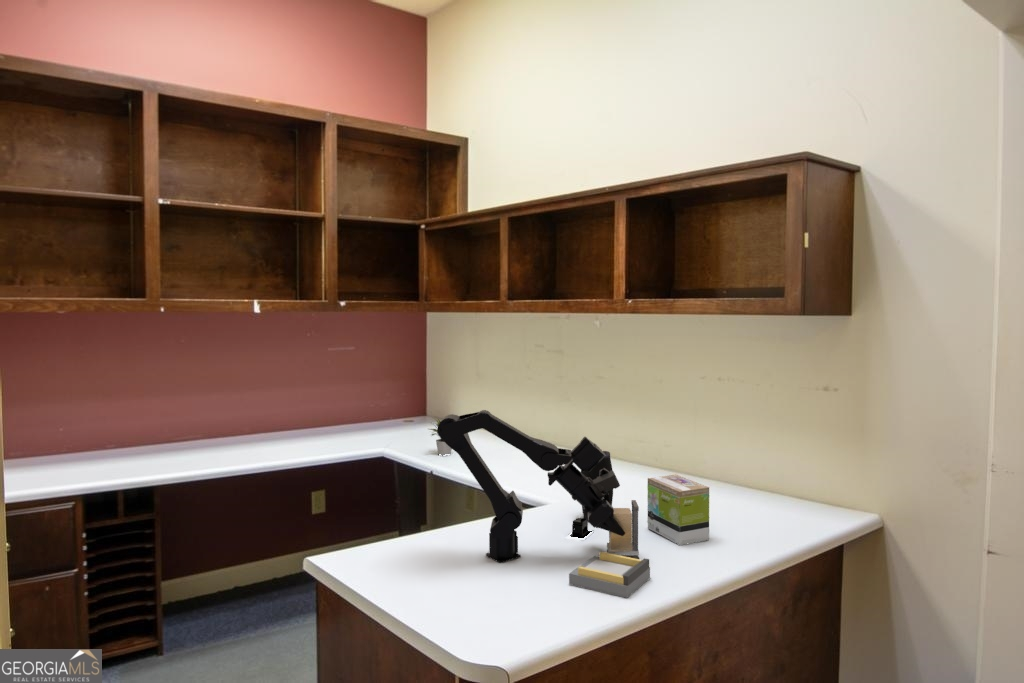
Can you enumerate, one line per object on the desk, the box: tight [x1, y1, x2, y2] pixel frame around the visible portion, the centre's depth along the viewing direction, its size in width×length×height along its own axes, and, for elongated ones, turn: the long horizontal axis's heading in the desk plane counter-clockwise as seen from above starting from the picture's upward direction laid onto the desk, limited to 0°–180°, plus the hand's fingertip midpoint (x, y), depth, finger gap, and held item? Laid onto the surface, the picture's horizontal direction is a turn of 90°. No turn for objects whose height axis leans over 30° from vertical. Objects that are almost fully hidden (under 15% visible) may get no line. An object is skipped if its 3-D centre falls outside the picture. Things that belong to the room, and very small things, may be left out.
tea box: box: [647, 474, 710, 546], centre depth 190 cm, size 15×10×15 cm, turn 23°
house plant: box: [428, 418, 453, 455], centre depth 295 cm, size 14×14×16 cm
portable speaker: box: [580, 450, 614, 522], centre depth 205 cm, size 9×9×20 cm
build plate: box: [570, 517, 593, 538], centre depth 191 cm, size 12×7×5 cm, turn 153°
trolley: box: [606, 499, 640, 559], centre depth 173 cm, size 7×6×14 cm
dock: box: [568, 551, 651, 599], centre depth 159 cm, size 14×13×4 cm
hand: (622, 528), depth 173 cm, fingers open, 9 cm apart
